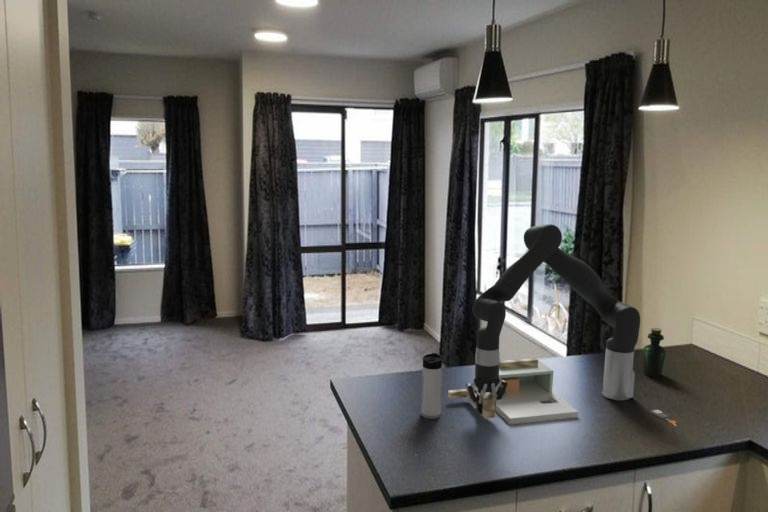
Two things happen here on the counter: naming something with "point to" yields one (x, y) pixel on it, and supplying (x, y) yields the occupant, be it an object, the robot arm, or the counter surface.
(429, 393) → the travel mug
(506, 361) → the stick
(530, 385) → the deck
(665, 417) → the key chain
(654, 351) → the potion bottle
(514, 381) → the cube
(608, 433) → the counter surface
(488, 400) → the crook
